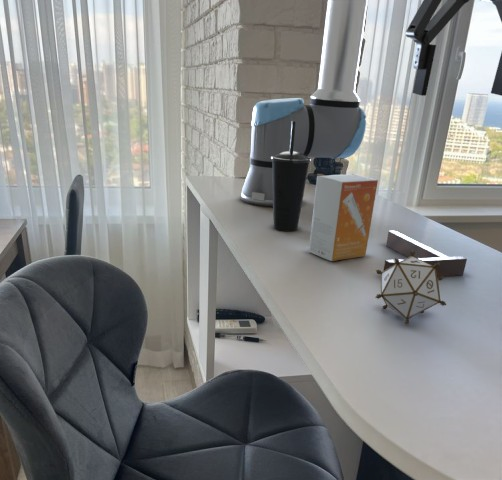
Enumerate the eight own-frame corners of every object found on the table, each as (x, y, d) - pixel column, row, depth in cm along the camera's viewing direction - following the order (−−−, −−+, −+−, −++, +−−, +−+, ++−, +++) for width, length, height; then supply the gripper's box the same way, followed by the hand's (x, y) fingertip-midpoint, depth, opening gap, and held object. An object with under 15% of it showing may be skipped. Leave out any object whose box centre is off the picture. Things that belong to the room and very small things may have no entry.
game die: (391, 334, 68) (397, 265, 70) (454, 333, 63) (459, 257, 65) (357, 318, 62) (365, 241, 64) (425, 314, 56) (431, 230, 58)
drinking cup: (277, 221, 107) (285, 119, 98) (310, 227, 104) (321, 122, 95) (259, 228, 101) (265, 120, 92) (293, 235, 98) (303, 123, 89)
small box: (331, 262, 84) (342, 181, 78) (307, 252, 88) (315, 175, 83) (366, 256, 88) (379, 179, 82) (342, 246, 92) (352, 173, 87)
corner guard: (337, 247, 92) (339, 232, 91) (403, 244, 96) (406, 230, 95) (386, 280, 77) (389, 262, 76) (463, 275, 81) (467, 258, 80)
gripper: (430, -98, 60) (396, 98, 71) (603, -82, 65) (546, 98, 77) (400, -89, 66) (373, 90, 78) (561, -75, 71) (513, 91, 83)
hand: (459, 94), depth 77 cm, fingers open, 13 cm apart
